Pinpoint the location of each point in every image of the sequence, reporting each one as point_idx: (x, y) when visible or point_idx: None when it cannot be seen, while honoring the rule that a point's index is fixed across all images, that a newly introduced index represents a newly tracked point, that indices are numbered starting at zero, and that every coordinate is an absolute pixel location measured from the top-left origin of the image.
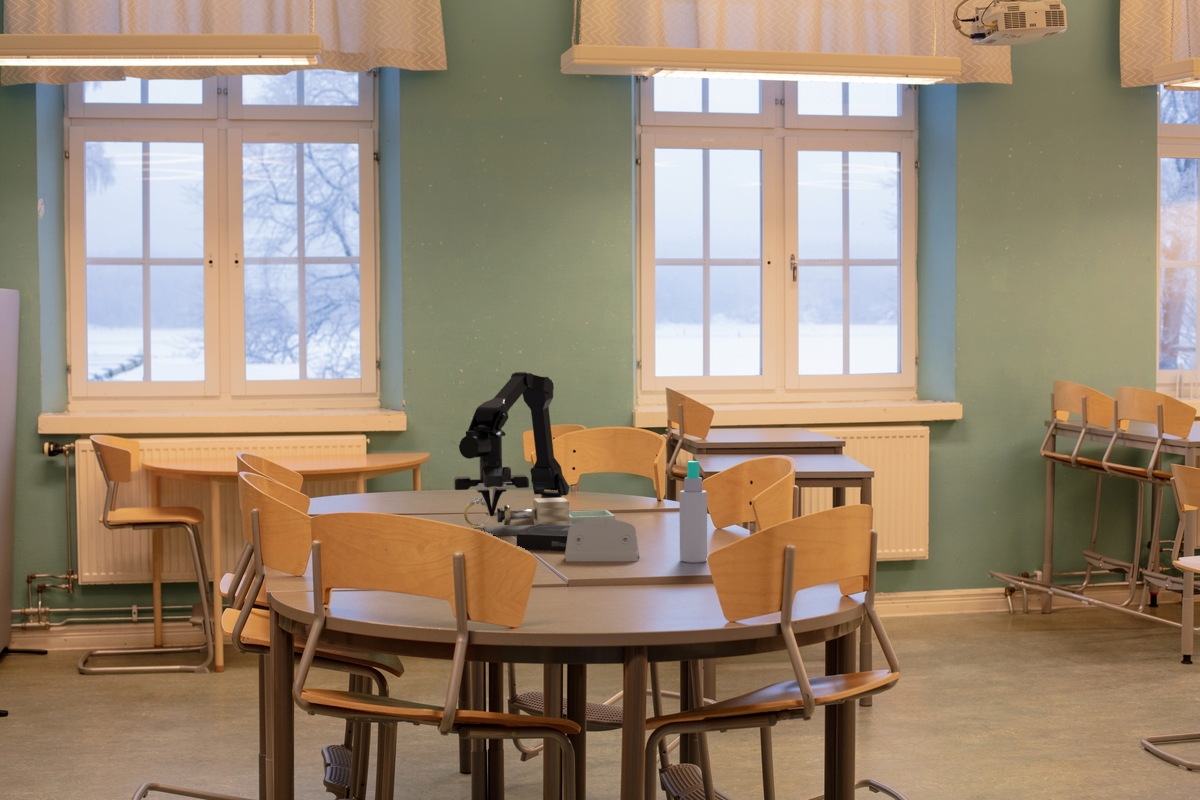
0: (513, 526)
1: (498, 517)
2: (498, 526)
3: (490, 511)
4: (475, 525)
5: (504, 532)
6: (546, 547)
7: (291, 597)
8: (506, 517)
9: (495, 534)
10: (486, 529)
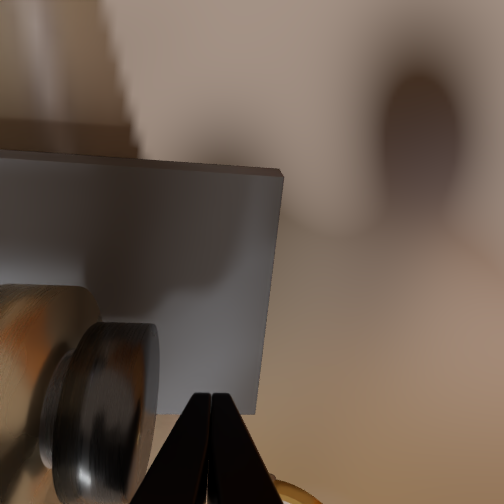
0: None
1: (140, 332)
2: None
3: (228, 431)
4: (280, 488)
5: (118, 165)
6: None
7: None
8: (35, 298)
9: (207, 165)
10: (258, 314)
